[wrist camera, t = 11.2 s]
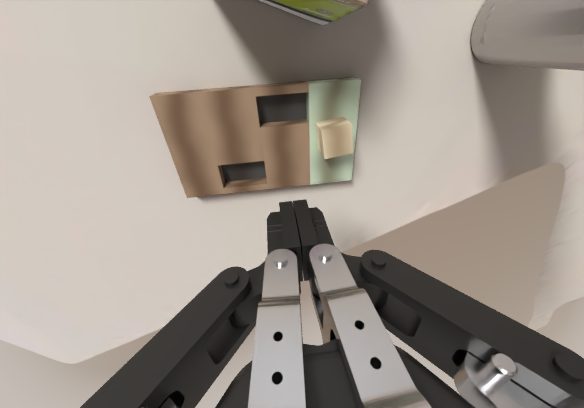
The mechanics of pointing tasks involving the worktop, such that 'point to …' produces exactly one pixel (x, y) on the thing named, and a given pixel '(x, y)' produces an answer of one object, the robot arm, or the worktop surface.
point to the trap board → (255, 134)
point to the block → (334, 137)
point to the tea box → (318, 8)
